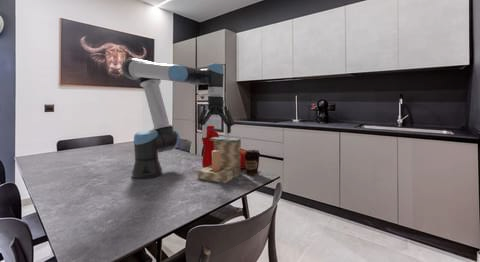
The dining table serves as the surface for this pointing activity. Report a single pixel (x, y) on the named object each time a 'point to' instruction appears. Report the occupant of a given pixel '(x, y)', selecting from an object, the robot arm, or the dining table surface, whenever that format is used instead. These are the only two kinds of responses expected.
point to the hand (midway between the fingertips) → (215, 138)
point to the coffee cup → (252, 162)
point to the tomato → (243, 158)
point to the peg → (215, 161)
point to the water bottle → (208, 146)
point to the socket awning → (224, 161)
